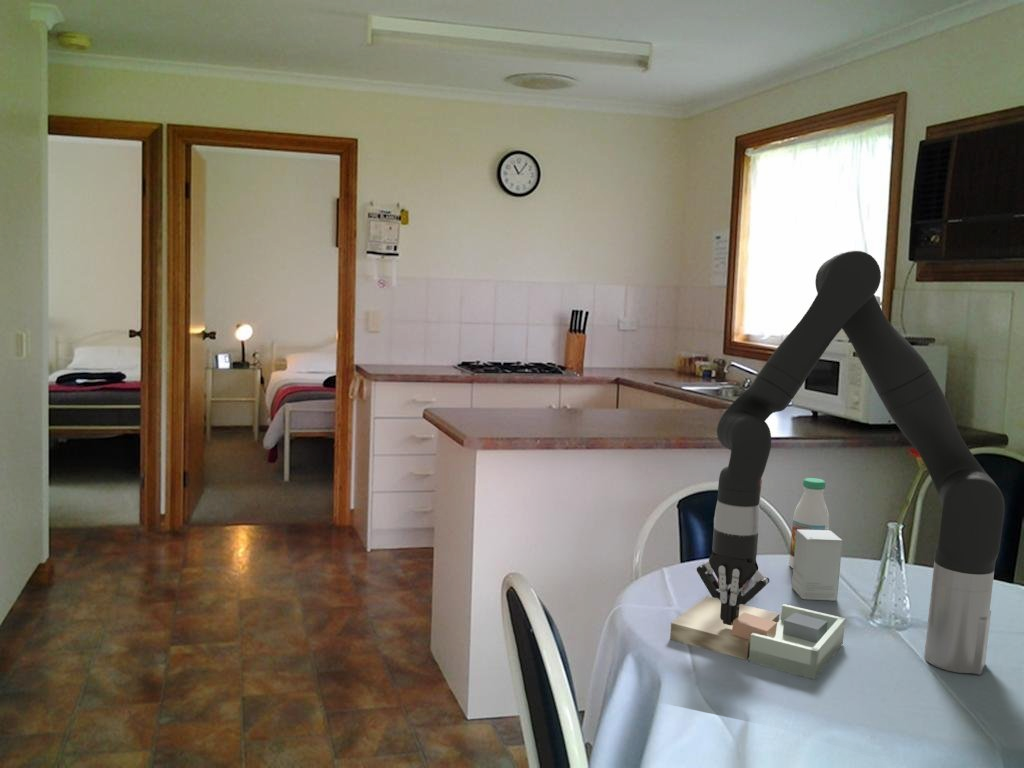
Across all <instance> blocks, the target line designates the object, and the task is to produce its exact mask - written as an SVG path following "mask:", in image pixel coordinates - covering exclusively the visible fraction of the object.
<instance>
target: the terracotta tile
mask: <svg viewBox="0 0 1024 768" xmlns="http://www.w3.org/2000/svg"><path fill="white" fill-rule="evenodd" d="M776 628H777V622H774V621H771V620H768V619H764V618H761V617H758V616H754V615H751V614H748V613H742V614H741V615H740V616H739V617H737V618H736V619H735V620H733V627H732V635H735V636H738V637H741V638H745V639H748V640H751V634H752V633H756V634H760V635H764V636H768V637H772V638H774V637H775V636H776Z"/></svg>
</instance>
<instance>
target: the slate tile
mask: <svg viewBox="0 0 1024 768" xmlns="http://www.w3.org/2000/svg"><path fill="white" fill-rule="evenodd" d="M827 623H828V621H825V620H821V619H817V618H813V617H810V616H806V615H802V614H798V613H793V614H792V615H790V616H789V617H788V618H786V619H785V620H784V626H783V634H785V635H788V636H792V637H796V638H799V639H803V640H806V641H810V642H814V643H817V642H818V641H819V640H820V639H821V638H822V637H823V635H824V634H825V633H826V632H827Z"/></svg>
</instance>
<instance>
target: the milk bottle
mask: <svg viewBox="0 0 1024 768" xmlns="http://www.w3.org/2000/svg"><path fill="white" fill-rule="evenodd" d="M802 483H803V486H802V489H803V493H802V496H801V498H800V500H799V502H798V504H797V505H796V507H795V510H794V512H793V516H792V517H793V518H792V525H791V527H792V528H791V536H790V549H789V559H788V560H789V561H788V562H789V563H788V564H789V566H790V567H791V568H792V569H793V567H794V554H795V542H796V531H797V529H798V530H830V514H829V511H828V507H827V504H826V501H825V496H824V492H825V491H826V490H825V488H826V481H825V480H824V479H820V478H817V477H816V478H814V477H806V478H804V479H803V482H802Z"/></svg>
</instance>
